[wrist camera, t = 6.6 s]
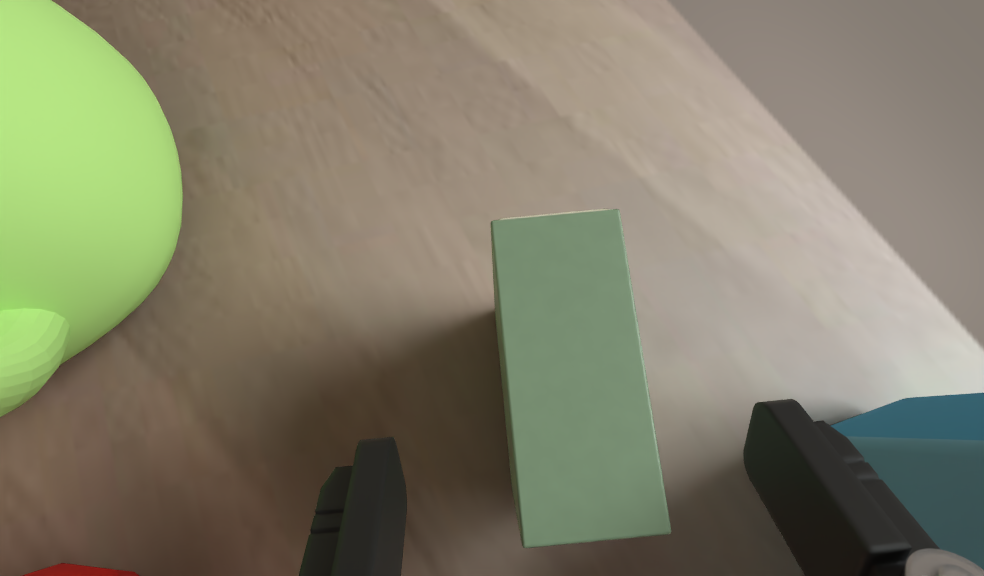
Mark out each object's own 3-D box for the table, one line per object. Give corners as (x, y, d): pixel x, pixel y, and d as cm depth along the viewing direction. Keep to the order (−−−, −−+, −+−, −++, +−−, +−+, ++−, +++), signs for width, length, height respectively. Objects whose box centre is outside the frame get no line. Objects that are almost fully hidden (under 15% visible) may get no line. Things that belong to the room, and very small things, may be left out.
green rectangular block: (567, 300, 22) (618, 203, 13) (591, 483, 21) (672, 534, 11) (494, 307, 22) (489, 215, 13) (512, 491, 20) (522, 549, 11)
